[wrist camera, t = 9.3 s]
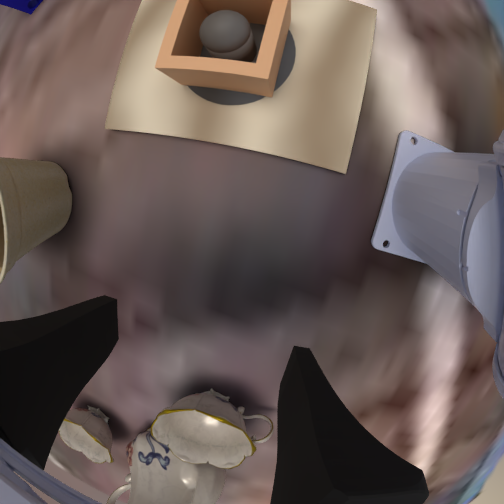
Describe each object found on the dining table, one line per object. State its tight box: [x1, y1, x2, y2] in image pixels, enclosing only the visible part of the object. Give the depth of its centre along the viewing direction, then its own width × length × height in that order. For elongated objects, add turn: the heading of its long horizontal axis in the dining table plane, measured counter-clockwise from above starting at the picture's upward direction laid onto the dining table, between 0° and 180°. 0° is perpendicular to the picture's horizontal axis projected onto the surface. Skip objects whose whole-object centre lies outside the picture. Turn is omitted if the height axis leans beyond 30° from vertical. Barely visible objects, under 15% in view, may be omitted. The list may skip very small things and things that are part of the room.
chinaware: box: [59, 388, 274, 504], centre depth 20 cm, size 28×17×17 cm, turn 121°
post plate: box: [105, 0, 377, 174], centre depth 13 cm, size 16×12×6 cm
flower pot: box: [0, 157, 72, 284], centre depth 16 cm, size 9×9×9 cm
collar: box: [155, 0, 291, 97], centre depth 12 cm, size 6×6×4 cm
